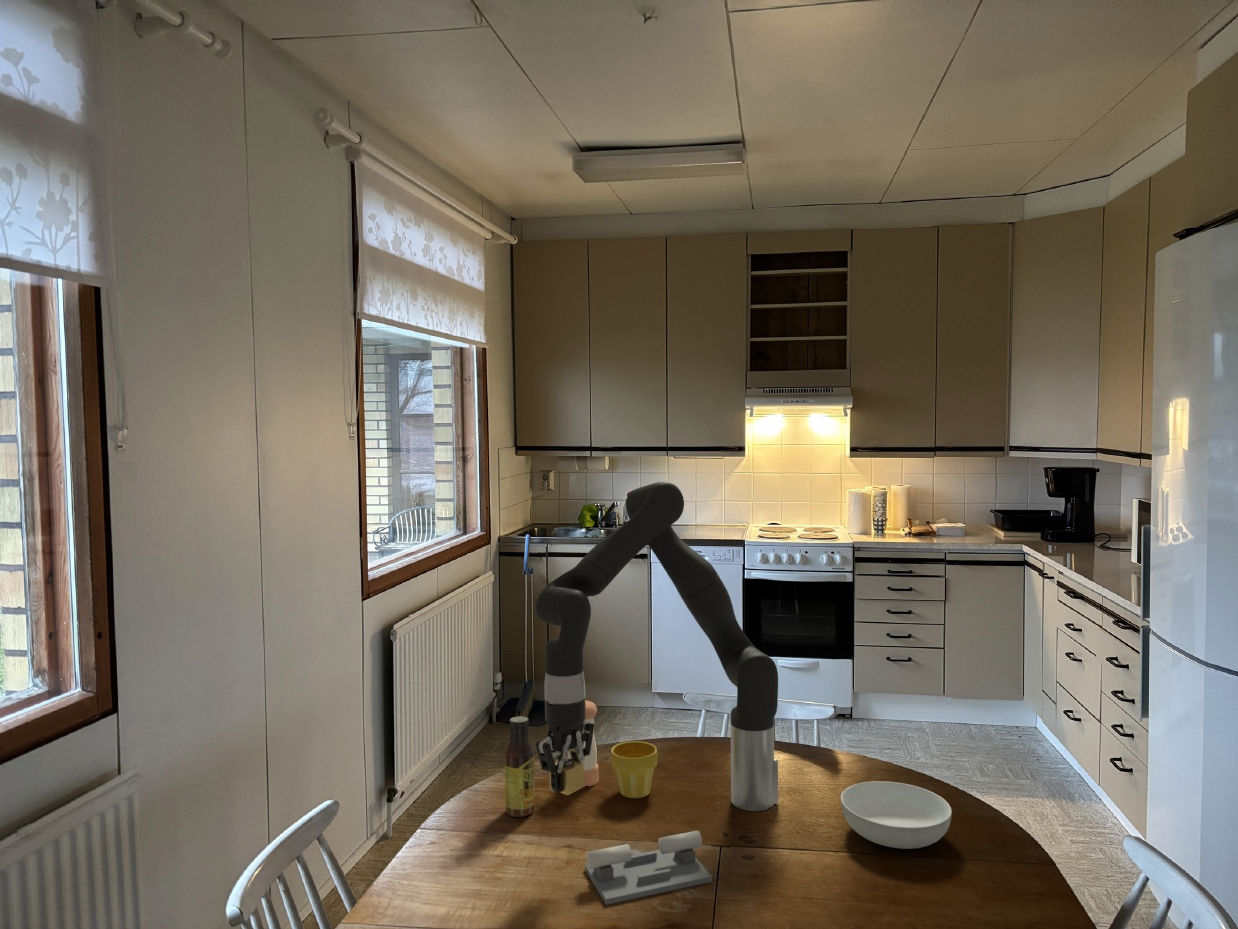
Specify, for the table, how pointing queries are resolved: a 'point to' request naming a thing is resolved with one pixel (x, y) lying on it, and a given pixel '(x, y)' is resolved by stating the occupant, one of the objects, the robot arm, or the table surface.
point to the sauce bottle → (519, 770)
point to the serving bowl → (896, 813)
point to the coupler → (571, 776)
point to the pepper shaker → (590, 761)
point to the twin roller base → (647, 868)
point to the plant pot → (634, 767)
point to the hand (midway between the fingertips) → (566, 785)
